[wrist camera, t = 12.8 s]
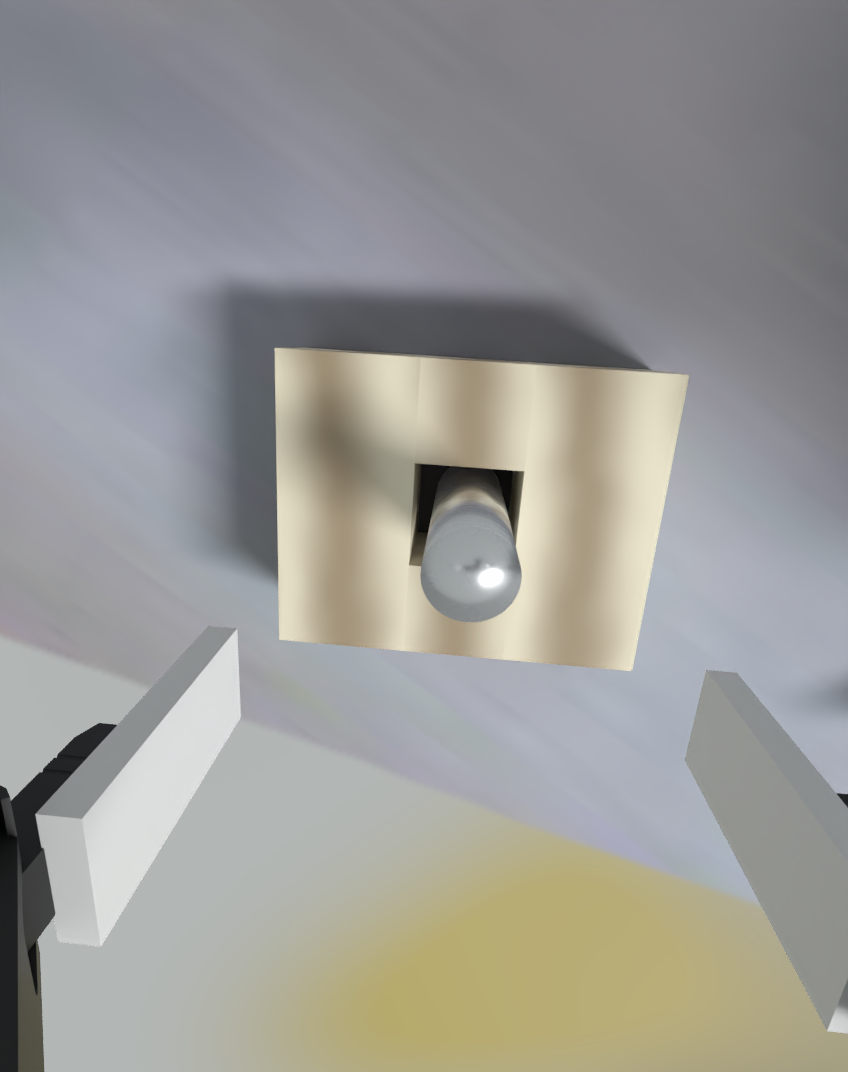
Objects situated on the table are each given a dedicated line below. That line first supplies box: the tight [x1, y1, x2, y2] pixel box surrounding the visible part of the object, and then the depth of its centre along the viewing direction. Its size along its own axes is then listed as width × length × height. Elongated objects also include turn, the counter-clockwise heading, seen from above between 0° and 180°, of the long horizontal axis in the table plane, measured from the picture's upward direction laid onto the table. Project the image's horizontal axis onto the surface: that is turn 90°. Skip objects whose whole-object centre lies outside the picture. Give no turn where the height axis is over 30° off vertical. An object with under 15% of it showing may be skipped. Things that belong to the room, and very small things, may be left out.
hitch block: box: [275, 347, 689, 671], centre depth 34 cm, size 20×16×6 cm
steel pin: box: [420, 466, 522, 622], centre depth 30 cm, size 4×4×14 cm
